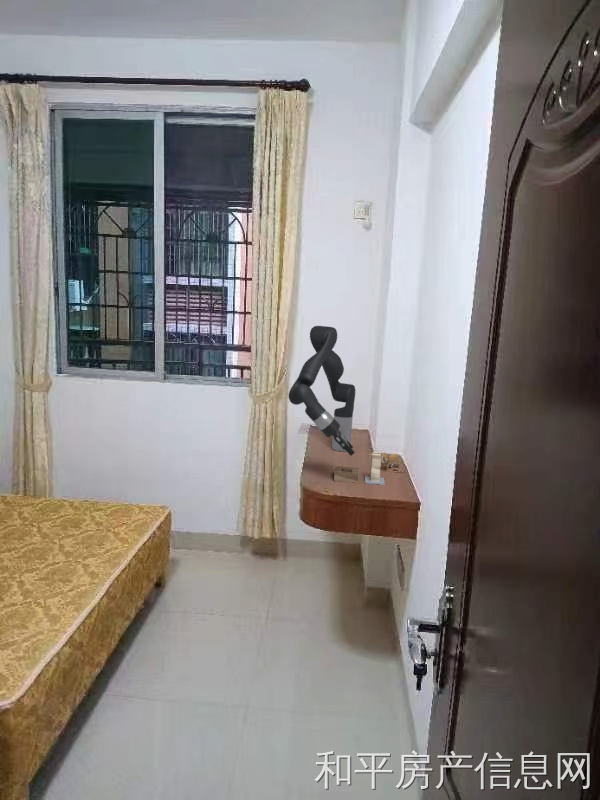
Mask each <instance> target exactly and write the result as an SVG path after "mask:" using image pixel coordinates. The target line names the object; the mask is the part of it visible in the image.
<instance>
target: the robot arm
mask: <svg viewBox="0 0 600 800" xmlns="http://www.w3.org/2000/svg"><path fill="white" fill-rule="evenodd" d="M309 339H310V344H311V345H312V347H313V349H314V350H315V354H313V355H312V356H311V357H310V358H308V359H307V360H306V361H305V362H304V364H303V366H301V367H302V368H301V370H300V372H299V375H298V376H297V379H296V380H295V381H294V383H293V384H292V386H291V388H290V389H289V392H288V400H289V402H290V403H291V404H292V405H295V406H298V405H301V404H304V406H305V409H304V412H305V415H307V416H308V418H309V419H311V421H312V422H313V424H314V425H315V426H316V427H317V428H318V429H319V430H320V431H321V433H323V435H324V436H325V437H326V438H330V437H331V436H332V442H331V449H332V450H333V451H336V452H347V453H348V454H349V456H350V457H351V456H353V455H354V454H355V450H353V448H354V446H353V444H352V431H353V430H352V429H353V415H354V407H355V400H356V388H355V385H354V384H352V383H351V384H350V383H343V382H340V381H339V380H340V379H341V378H342V376H343V374H344V372H345V371H344V370H345V368H344V364H343V361H342V358H341V357H340V356H339V355H338V354H337V353H336V351H334V350H333V349H334V348H335V346H336V344H337V340H338V331H337V329H336V328H335V327H333V326H325V325H324V326H323V325H314V326H313V327H311V329H310V332H309ZM321 368H322V369H323V372H324V374H325V376H326V379H327V382H328V385H329V389H330V392H331V393H330V394H331V396H332V399H333V400H334V401H336V402H340V403H345V405H344V406H341V407H338V408H335V409H334V411H333V412H334V413H333V415H331V413H330V412H329V411H327V410H326V409H325V407H324V406H322V404H321V403H320V402H319V400H318V398H317V396H316V395H315V393H314V391H313V390H312V388H311V386H313V385H314V383H315V381H316V380H317V376H318V374H319V372H320V370H321Z"/></svg>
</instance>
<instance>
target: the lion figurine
mask: <svg viewBox="0 0 600 800" xmlns="http://www.w3.org/2000/svg"><path fill="white" fill-rule="evenodd" d="M380 454H381V468H380V471H383V470H384V467H385V466H386V468H385V472H389V467H391V468H392V467H393V466H394V464H395V463H396V466H397V469H401V463H400V457H399V455H398V454H397V453H396V454H395V453H393V454H390V455H389V453H387V452H385V451H383V452H381V453H380ZM390 464H391V465H390Z"/></svg>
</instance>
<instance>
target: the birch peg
mask: <svg viewBox="0 0 600 800" xmlns="http://www.w3.org/2000/svg"><path fill="white" fill-rule="evenodd" d="M370 463H371V464H370V470H369V471H370V474H369V477H370V480H371V481H377V482H379V479H380V477H381V468H382V465H381V453H373V452H372V453H371V461H370Z"/></svg>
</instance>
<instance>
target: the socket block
mask: <svg viewBox="0 0 600 800" xmlns="http://www.w3.org/2000/svg"><path fill="white" fill-rule="evenodd" d="M359 469H360V468H359V467H353V466H340V465H335V469H334V474H333V475H334V476H333V481H334V482H343V483H352V482H355V483H354V484H358V483H359V473H360V471H359Z"/></svg>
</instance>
